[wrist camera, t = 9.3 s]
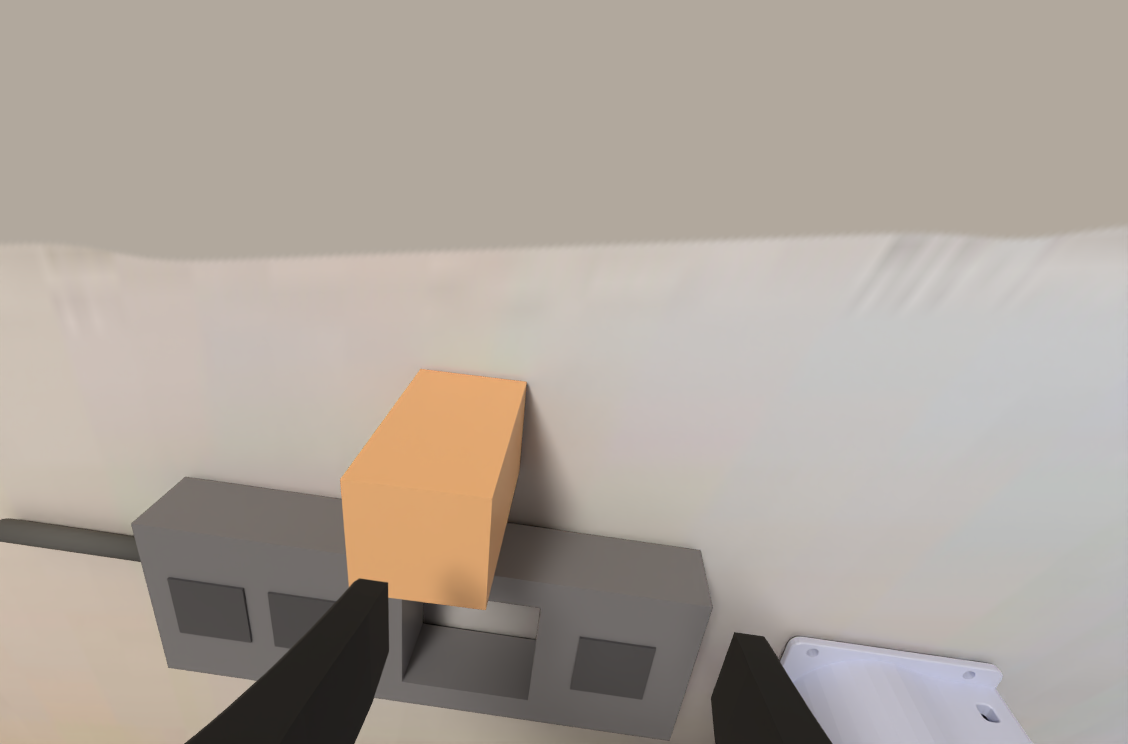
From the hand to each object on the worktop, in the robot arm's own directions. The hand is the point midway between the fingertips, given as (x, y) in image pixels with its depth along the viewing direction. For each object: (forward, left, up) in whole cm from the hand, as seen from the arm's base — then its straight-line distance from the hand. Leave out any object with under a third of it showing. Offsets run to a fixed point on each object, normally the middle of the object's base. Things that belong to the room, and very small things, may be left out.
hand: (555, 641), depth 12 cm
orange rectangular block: (+4, +1, -10) cm, 11 cm away
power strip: (+9, +10, -10) cm, 17 cm away
